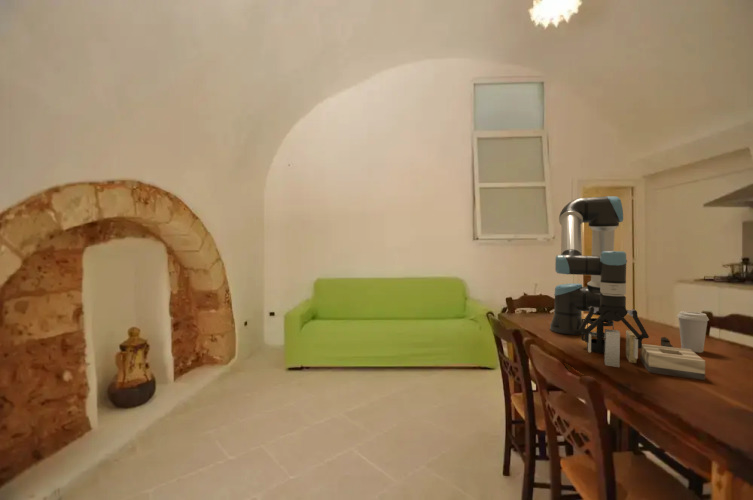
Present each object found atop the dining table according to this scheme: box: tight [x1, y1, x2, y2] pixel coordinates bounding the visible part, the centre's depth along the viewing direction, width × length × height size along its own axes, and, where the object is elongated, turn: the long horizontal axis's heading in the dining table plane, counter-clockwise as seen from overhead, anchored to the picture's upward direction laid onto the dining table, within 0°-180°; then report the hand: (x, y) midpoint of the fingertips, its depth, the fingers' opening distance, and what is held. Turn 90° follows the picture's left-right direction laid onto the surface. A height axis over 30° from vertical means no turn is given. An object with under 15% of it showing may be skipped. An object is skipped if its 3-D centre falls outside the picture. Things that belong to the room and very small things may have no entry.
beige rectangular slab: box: [625, 329, 637, 364], centre depth 128 cm, size 8×2×10 cm, turn 152°
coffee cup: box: [676, 310, 710, 354], centre depth 139 cm, size 10×10×15 cm
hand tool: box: [660, 336, 676, 348], centre depth 136 cm, size 19×4×5 cm, turn 147°
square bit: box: [603, 328, 621, 368], centre depth 122 cm, size 4×4×12 cm
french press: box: [581, 293, 615, 354], centre depth 139 cm, size 12×9×23 cm
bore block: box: [639, 343, 706, 381], centre depth 118 cm, size 14×14×6 cm
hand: (611, 354), depth 122 cm, fingers open, 13 cm apart
